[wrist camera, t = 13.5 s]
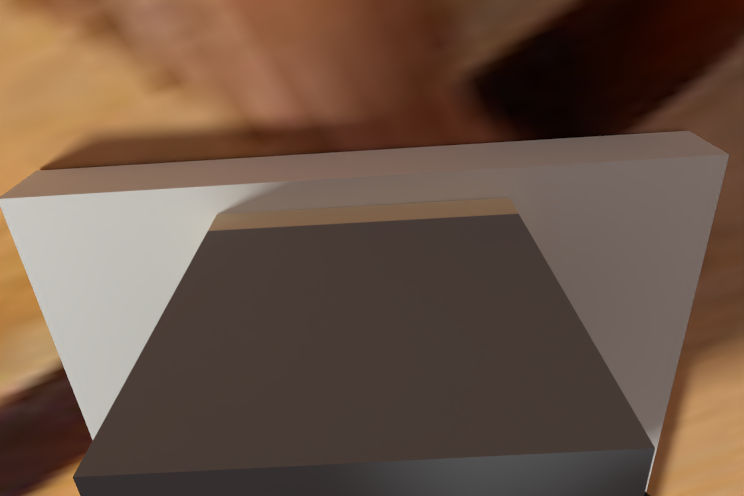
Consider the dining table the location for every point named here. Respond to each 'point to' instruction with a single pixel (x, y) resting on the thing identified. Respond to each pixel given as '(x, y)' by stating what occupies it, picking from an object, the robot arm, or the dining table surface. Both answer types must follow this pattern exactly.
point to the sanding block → (369, 367)
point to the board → (381, 187)
